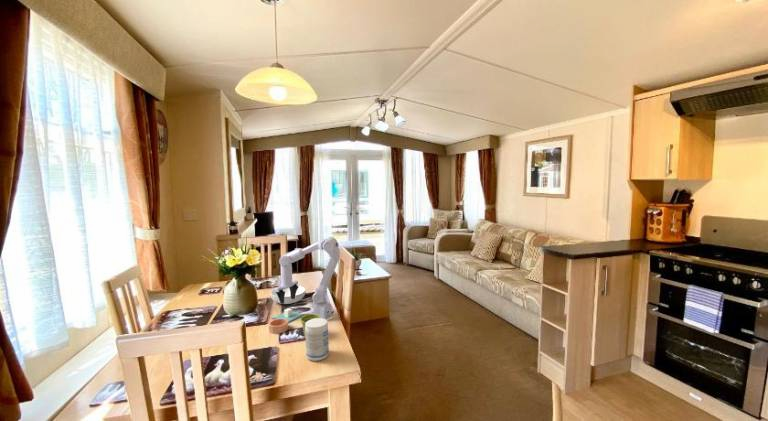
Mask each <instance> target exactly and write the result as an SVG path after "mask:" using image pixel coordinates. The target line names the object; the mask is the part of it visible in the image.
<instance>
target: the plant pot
mask: <svg viewBox="0 0 768 421" xmlns="http://www.w3.org/2000/svg"><path fill="white" fill-rule="evenodd" d="M304 315H305V316H303V317H301V318H299V319H300V322H301V324H302V330H303V336H304V337H305V338H306V336H305V324H306V322H307V321H309V320H311V319H315V318H320V316H319V315H317V314H314V313H310V314H309V313H308V314H304Z"/></svg>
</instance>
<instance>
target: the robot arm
mask: <svg viewBox="0 0 768 421" xmlns="http://www.w3.org/2000/svg"><path fill="white" fill-rule="evenodd" d="M339 247H340V246H339V242H338V240H337V239H336V238H335V237H332V236H329V237H328V238H324V239H321V240H319V241H316V242H315V243H313V244H310V245H308V246H306V247H304V248H300V247H299V248H298V247H296V248H294V250H292V251H288V252H286V253H284V254H283V255H281V257H280V258H279V260H278V263H279V265H280V279H281V283H280V285H279V286H277V287H275V288H274V289H275V292H276V294H277V295H278V297H279V300H280V303H282V304H281V305H285V304H284V296H285V292H284V291H283V290H284V289H286V288H290V294H291V299H295V295H296V291H297V289H298V286H299V281H298V280H293V266H292V265H293V264H292V263H295V262H297V261H299V260H302V259H304V258H305V257H306V256H305V255H307V254H310V253H312V252H314V251H315V252H316V251H318V250H319V251H323V250H324V252H326V253H327V254H328V256H329V261H328V264H327V266H326V268H325V270H324V273H323V275H322V278H321V280H320V282H319V285H318V287H317V288H316V290H315V292H314V293H313V294H312V297H311V298H312V302H313V303H312V305H313V306H312V307H313V314H317V315H319V316H320V318H323V319H326V320H327V321H328V320H329V319H330V318H332V317H333V314H332V313H333V312H332V311H333V310H332V304H331V303H329V302H328V300H327V297H326V296H327V294H328V291H327V290H328V287H329V284H330V282H331V280H332V277H333V275H334V272H335V270H336V268H337V265H338V263H339V261H340V257H341V252H340V248H339ZM280 303H279V304H280Z"/></svg>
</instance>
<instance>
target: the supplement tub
mask: <svg viewBox="0 0 768 421" xmlns="http://www.w3.org/2000/svg"><path fill="white" fill-rule="evenodd" d="M305 336H306V337H305ZM305 336H304V337H305V356H306V358H307V359H308V360H309V361H312V362H313V361H314V362H318V361H323V360H325V359H326V358H327V357H328V356H329V353H330V352H329V351H330V349H329V348H330V347H329V322H328V319H327V320H326V319H323V318H315V319H311V320H309V321H307V322H306V324H305Z"/></svg>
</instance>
